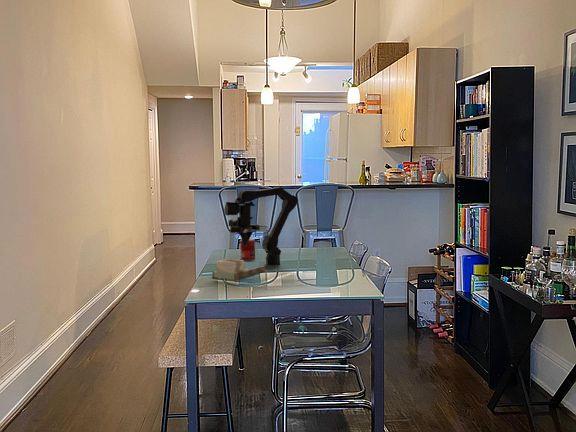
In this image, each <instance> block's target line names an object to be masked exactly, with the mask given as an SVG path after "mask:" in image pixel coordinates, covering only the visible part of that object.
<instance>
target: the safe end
mask: <svg viewBox="0 0 576 432" xmlns="http://www.w3.org/2000/svg"><path fill="white" fill-rule="evenodd" d="M213 278H214V279H213V280H219V281H227V282H232V283H233V282H234V281H235V280H234V274H233V273H224V272H214V277H213Z"/></svg>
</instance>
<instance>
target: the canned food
mask: <svg viewBox="0 0 576 432" xmlns="http://www.w3.org/2000/svg"><path fill="white" fill-rule="evenodd" d="M240 253H241V255H240V256H241V257H240V258H241V260H254V259H256V239H255V238H252V237H250V239H249V241H248V243H247V245H246V246H245V245H244V244H243V241H242V238H240Z"/></svg>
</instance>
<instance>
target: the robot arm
mask: <svg viewBox="0 0 576 432" xmlns="http://www.w3.org/2000/svg"><path fill="white" fill-rule="evenodd" d="M273 196H277V197H278V198H279V199H280V200H282V202H281V210H280V213H279V214H278V216H277V219H276V220H275V222H274V225H273V227H272V229H271V231H270V234H269V235H264V237H263V240H262V241H261V243H262V244H261V247H262V249H263V250H264V251H265V254H266V257H265V264H266V265H267V266H276V265H277V266H281V261H280V260H281V254H282V250H281V249H280V248H279V247H278V244H279V237H280V235H281V232H282V230H283V228H284V226H285V223H286V222H287V219H288V217H289V215H290V213H291V212H292V211H293V210H294V209H295V207H296V206H297V205H298V203H299V199H298V197H297V196H296V195H294V194H293V195H292V194H291V193H290V192H288V191H286V189H284V188H283V187H282V186H281V187H280V186H276V187H270V188H264V189H257V190H249V189H247V190H246V189H244V190H240V191H239V193H238V196H237V198H236V199H235V200H234V201H233V202H232V201H226V202H225V204H224V205H225V206H224V209H223V210H224V215H225V216H237V215H238V214H239V216H237V219H236V220H234V219H230V220H228V226H229V227H230V229H229V233H231V234H232V233H233V234H238V235H239V236H240V239H242V241H243V244H244V245H245V246H246V245H247V243H248V241H249V239H250V238H252V235H253V234H254V230H255V231H260V225H259V224H254V223H252V220H253V216H252V207H256V204H254V202H253V201H255V200H256V199H259V198H260V199H261V198H264V197H273ZM252 230H253V231H252Z"/></svg>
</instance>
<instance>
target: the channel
mask: <svg viewBox="0 0 576 432" xmlns="http://www.w3.org/2000/svg"><path fill="white" fill-rule="evenodd" d="M214 272H217V270H213V271H212V280H215V279H214V278H215V277H214ZM263 272H266V266H265V265H261V266H257V267H254V268H244V271H243V272H240V273H236V274H234V282H235V283H237V282H238V280H240V279H244V278H246V277H250V276H253V275H256V274H260V273H263Z"/></svg>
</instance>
